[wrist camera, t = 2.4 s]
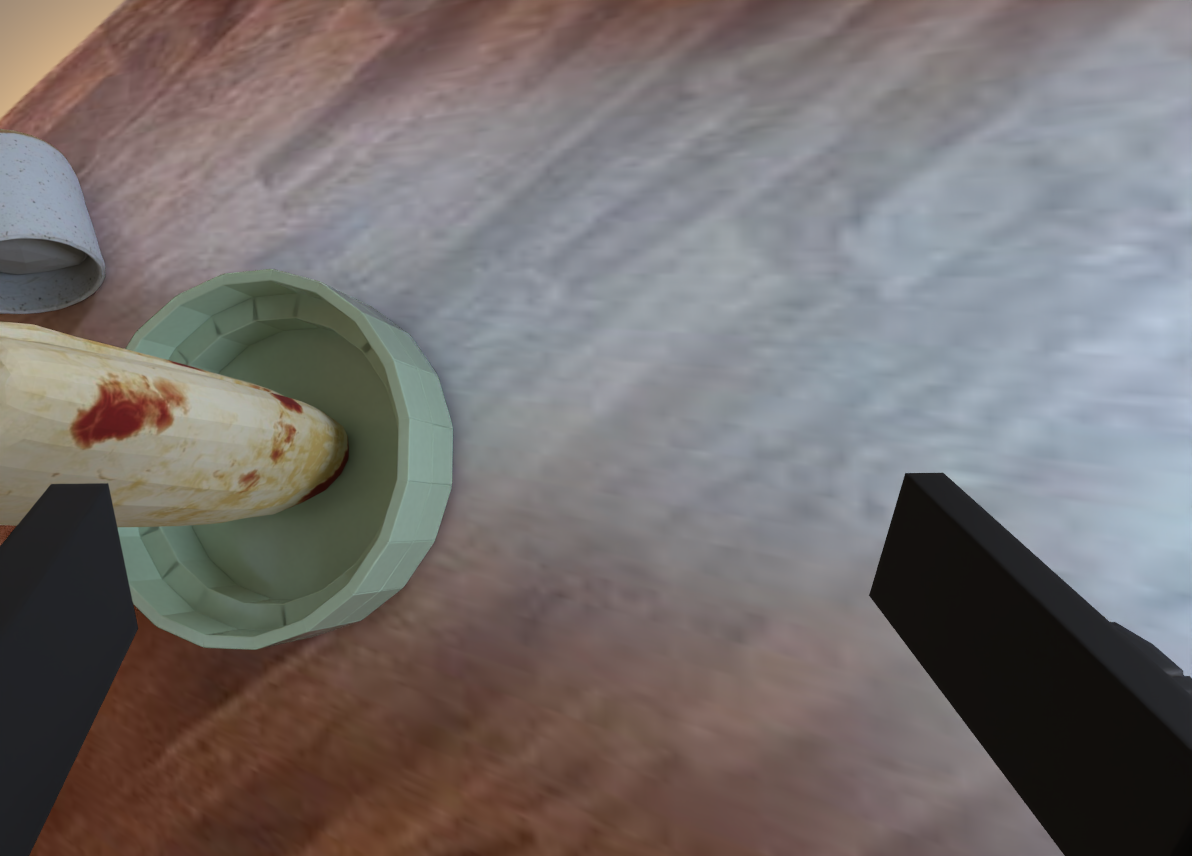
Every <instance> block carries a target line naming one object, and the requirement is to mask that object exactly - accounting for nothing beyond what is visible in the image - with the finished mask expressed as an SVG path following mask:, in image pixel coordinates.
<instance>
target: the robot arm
mask: <svg viewBox="0 0 1192 856" xmlns="http://www.w3.org/2000/svg"><path fill="white" fill-rule="evenodd" d="M869 596H870V597H871V599H872V600H873V601H874V603H875V604H876V605H877V606H878V608H879V609H880V610H881V612H882V613H883V614H884V616H885V617H886V618H887V620H888V621H889V622H890V624H891V625H892V626H893V628H894V629H895V630H896V632H897V633H898V634H899V636H900V637H901V638H902V640H903V641H904V642H905V644H906V645H907V646H908V648H909V649H910V650H911V652H912V653H913V654H914V656H915V657H916V658H917V660H918V661H919V662H920V664H921V665H922V666H923V668H924V669H925V670H926V672H927V673H928V674H929V676H930V677H931V678H932V680H933V681H934V682H935V684H936V685H937V686H938V688H939V689H940V690H941V692H942V693H943V694H944V696H945V697H946V698H947V700H948V701H949V702H950V704H951V705H952V706H953V708H954V709H955V710H956V712H957V713H958V714H959V716H960V717H961V718H962V720H963V721H964V722H965V724H966V725H967V726H968V728H969V729H970V730H971V732H972V733H973V734H974V735H975V737H976V738H977V739H978V741H979V742H980V743H981V745H982V746H983V747H984V749H985V750H986V751H987V753H988V754H989V755H990V757H991V758H992V759H993V761H994V762H995V763H996V765H997V766H998V767H999V769H1000V770H1001V771H1002V773H1003V774H1004V775H1005V777H1006V778H1007V779H1008V781H1009V782H1010V783H1011V785H1012V786H1013V787H1014V789H1015V790H1016V791H1017V793H1018V794H1019V795H1020V797H1021V798H1022V799H1023V801H1024V802H1025V803H1026V805H1027V806H1028V807H1029V809H1030V810H1031V811H1032V813H1033V814H1034V815H1035V817H1036V818H1037V819H1038V821H1039V822H1040V823H1041V825H1042V826H1043V827H1044V829H1045V830H1046V831H1047V833H1048V834H1049V835H1050V837H1051V838H1052V839H1053V841H1054V842H1055V843H1056V845H1057V846H1058V847H1059V849H1060V850H1061V851H1062V853H1063V854H1064V855H1065V856H1192V678H1191V677H1190V676H1184V675H1183V670H1182V669H1180V668H1179V667H1178V666H1177V665H1176V664H1175V663H1174V662H1172V661H1171V660H1170V659H1169V658H1168V657H1167V656H1166V655H1164V654H1163V653H1162V652H1161V651H1160V650H1159V649H1158V648H1156V647H1155V646H1154V645H1153V644H1151V643H1150V642H1148V641H1146V640H1145V639H1143V638H1141V637H1139V636H1138V635H1136V634H1134V633H1133V632H1131V631H1129V630H1128V629H1126V628H1124V627H1123V626H1121V625H1119V624H1118V623H1116V622H1109V621H1108V620H1107V619H1106V618H1105V617H1103V616H1102V615H1101V614H1100V613H1099V612H1098V611H1097V610H1096V609H1094V608H1093V607H1092V606H1091V605H1090V604H1089V603H1088V602H1087V601H1086V600H1084V599H1083V598H1082V597H1081V596H1080V595H1079V594H1078V593H1077V592H1076V591H1074V590H1073V589H1072V588H1071V587H1070V586H1069V585H1068V584H1067V583H1065V582H1064V581H1063V580H1062V579H1061V578H1060V577H1059V576H1058V575H1057V574H1055V573H1054V572H1053V571H1052V570H1051V569H1050V568H1049V567H1048V566H1047V565H1045V564H1044V563H1043V562H1042V561H1041V560H1040V559H1039V558H1038V557H1036V556H1035V555H1034V554H1033V553H1032V552H1031V551H1030V550H1029V549H1028V548H1026V547H1025V546H1024V545H1023V544H1022V543H1021V542H1020V541H1019V540H1018V539H1016V538H1015V537H1014V536H1013V535H1012V534H1011V533H1010V532H1009V531H1007V530H1006V529H1005V528H1004V527H1003V526H1002V525H1001V524H1000V523H999V522H997V521H996V520H995V519H994V518H993V517H992V516H991V515H990V514H989V513H987V512H986V511H985V510H984V509H983V508H982V507H981V506H980V505H979V504H977V503H976V502H975V501H974V500H973V499H972V498H971V497H970V496H968V495H967V494H966V493H965V492H964V491H963V490H962V489H961V488H960V487H958V486H957V485H956V484H955V483H954V482H953V481H952V480H951V479H950V478H948V477H947V476H946V475H945V474H944V473H905V476H904V480H903V483H902V487H901V490H900V493H899V497H898V500H897V503H896V507H895V510H894V514H893V517H892V520H891V524H890V527H889V530H888V534H887V537H886V541H885V544H884V547H883V551H882V554H881V557H880V561H879V564H878V567H877V571H876V574H875V578H874V581H873V584H872V588H871V591H870V594H869ZM137 630H138V625H137V621H136V616H135V611H134V606H133V601H132V596H131V591H130V586H129V582H128V577H127V572H126V567H125V562H124V557H123V552H122V547H121V543H120V538H119V533H118V528H117V523H116V518H115V513H114V508H113V504H112V499H111V494H110V489H109V484H108V483H87V484H51V485H50V486H49V487H48V488H47V490H46V491H45V492H44V493H43V494H42V496H41V497H40V498H39V499H38V501H37V502H36V503H35V504H34V505H33V507H32V508H31V509H30V510H29V512H28V513H27V514H26V515H25V517H24V518H23V519H22V520H21V521H20V523H19V524H18V525H17V526H16V528H15V529H14V530H13V531H12V532H11V534H10V535H9V536H8V537H7V539H6V540H5V541H4V542H3V544H2V545H1V546H0V856H29V855H30V853H31V850H32V848H33V846H34V844H35V842H36V840H37V838H38V836H39V834H40V832H41V830H42V828H43V825H44V823H45V821H46V819H47V817H48V815H49V813H50V811H51V809H52V807H53V805H54V803H55V801H56V798H57V796H58V794H59V792H60V790H61V788H62V786H63V784H64V782H65V780H66V778H67V776H68V773H69V771H70V769H71V767H72V765H73V763H74V761H75V759H76V757H77V755H78V753H79V751H80V748H81V746H82V744H83V742H84V740H85V738H86V736H87V734H88V732H89V730H90V728H91V726H92V723H93V721H94V719H95V717H96V715H97V713H98V711H99V709H100V707H101V705H102V703H103V701H104V699H105V696H106V694H107V692H108V690H109V688H110V686H111V684H112V682H113V680H114V678H115V676H116V674H117V671H118V669H119V667H120V665H121V663H122V661H123V659H124V657H125V655H126V653H127V651H128V649H129V646H130V644H131V642H132V640H133V638H134V636H135V634H136V632H137Z"/></svg>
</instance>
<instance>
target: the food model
mask: <svg viewBox="0 0 1192 856" xmlns="http://www.w3.org/2000/svg"><path fill="white" fill-rule="evenodd" d="M348 459H349V443H348V436H347V434H346V432H345V430H344V428H343V426H342V425H341V424H339V423H338V422H337V421H336V420H334V419H333V418H331V417H330V416H328V415H327V414H325V413H324V412H322V411H321V410H319V409H317V408H315V407H313V406H311V405H309V404H307V403H305V402H302V401H298V400H295V399H292V398H288V397H285V396H283V395H281V394H279V393H277V392H275V391H273V390H271V389H268V388H265V387H262V386H259V385H256V384H253V383H249V382H246V381H242V380H238V379H235V378H231V377H227V376H223V375H220V374H216V373H212V372H209V371H205V370H202V369H198V368H195V367H192V366H188V365H185V364H181V363H177V362H173V361H170V360H166V359H162V358H158V357H154V356H150V355H146V354H143V353H139V352H135V351H131V350H127V349H123V348H119V347H115V346H111V345H107V344H103V343H99V342H95V341H91V340H87V339H83V338H79V337H75V336H71V335H68V334H64V333H61V332H58V331H54V330H51V329H47V328H44V327H41V326H37V325H33V324H22V323H12V322H1V321H0V525H14V526H17V525H18V524H19V523H20V521H21V520H22V519H23V518H24V517H25V515H26V514H27V513H28V512H29V510H30V509H31V508H32V507H33V505H34V504H35V503H36V502H37V501H38V499H39V498H40V497H41V496H42V494H43V493H44V492H45V491H46V490H47V488H48V487H49V486H50V485H51V484H87V483H108V484H109V489H110V494H111V499H112V504H113V508H114V513H115V518H116V523H117V527H161V526H188V525H203V524H215V523H223V522H228V521H233V520H238V519H244V518H251V517H259V516H266V515H274V514H276V513H279V512H281V511H283V510H286V509H288V508H290V507H293V506H295V505H298V504H300V503H302V502H305V501H306V500H308V499H310V498H312V497H314V496H316V495H318V494H320V493H321V492H323V491H325V490H326V489H327V488H328V487H329V486H330V485H331V484H332V483H333V482H334V481H335V480H336V479H337V478H338V477H339V476H340V475H341V473H342V471H343V469H344V467H345V465H346V463H347V461H348Z"/></svg>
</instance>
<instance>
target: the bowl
mask: <svg viewBox="0 0 1192 856" xmlns="http://www.w3.org/2000/svg"><path fill="white" fill-rule="evenodd" d="M125 349H127V350H131V351H135V352H139V353H143V354H146V355H150V356H154V357H158V358H162V359H166V360H170V361H173V362H177V363H181V364H185V365H188V366H192V367H195V368H198V369H202V370H205V371H209V372H212V373H216V374H220V375H223V376H227V377H231V378H235V379H238V380H242V381H246V382H249V383H253V384H256V385H259V386H262V387H265V388H268V389H271V390H273V391H275V392H277V393H279V394H281V395H283V396H285V397H288V398H292V399H295V400H298V401H302V402H305V403H307V404H309V405H311V406H313V407H315V408H317V409H319V410H321V411H322V412H324V413H325V414H327V415H328V416H330V417H331V418H333V419H334V420H336V421H337V422H338V423H339V424H341V425H342V426H343V428H344V430H345V432H346V434H347V436H348V443H349V459H348V461H347V463H346V465H345V467H344V469H343V471H342V473H341V475H340V476H339V477H338V478H337V479H336V480H335V481H334V482H333V483H332V484H331V485H330V486H329V487H328V488H327V489H326V490H325V491H323V492H321V493H320V494H318V495H316V496H314V497H312V498H310V499H308V500H306V501H305V502H302V503H300V504H298V505H295V506H293V507H290V508H288V509H286V510H283V511H281V512H279V513H276V514H274V515H266V516H259V517H251V518H244V519H238V520H233V521H228V522H223V523H215V524H203V525H188V526H161V527H117V528H118V533H119V538H120V543H121V547H122V552H123V557H124V562H125V567H126V572H127V577H128V582H129V586H130V591H131V596H132V601H133V604H134V605H135V606H136V607H137V608H138V609H139V610H140V611H141V612H142V613H143V614H144V615H145V616H146V617H147V618H148V619H149V620H150V621H151V622H152V623H153V624H154V625H155V626H157V627H158V628H161V629H163V630H165V631H167V632H170V633H172V634H174V635H176V636H179V637H181V638H183V639H185V640H188V641H190V642H192V643H194V644H196V645H199V646H201V647H204V648H223V649H247V650H257V649H261V648H266V647H270V646H275V645H279V644H284V643H288V642H293V641H297V640H302V639H306V638H311V637H315V636H318V635H321V634H324V633H327V632H330V631H333V630H335V629H338V628H341V627H344V626H347V625H350V624H353V623H356V622H359V621H361V620H363V619H364V618H365V617H367V616H368V615H369V614H370V613H372V612H373V611H374V610H376V609H377V608H378V607H379V606H381V605H382V604H383V603H384V602H386V601H387V600H388V599H390V598H391V597H392V596H393V595H395V594H396V593H397V592H398V591H400V590H401V589H402V588H403V587H404V586H405V585H406V583H407V582H408V580H409V579H410V577H411V576H412V574H413V573H414V571H415V570H416V568H417V567H418V565H419V564H420V563H421V561H422V560H423V558H424V557H425V555H426V554H427V552H428V551H429V549H430V548H431V546H432V545H433V543H434V542H435V539H436V536H437V533H438V530H439V527H440V523H441V520H442V517H443V514H444V511H445V507H446V504H447V501H448V498H449V495H450V491H451V488H452V486H451V485H452V461H453V426H452V423H451V419H450V416H449V412H448V409H447V405H446V402H445V398H444V395H443V391H442V388H441V384H440V381H439V378H438V375H437V374H436V372H435V371H434V369H433V368H432V367H431V365H430V364H429V362H428V361H427V359H426V358H425V356H424V355H423V353H422V352H421V350H420V349H419V347H418V346H417V345H416V343H415V342H414V340H413V339H412V337H411V336H410V335H409V334H408V333H407V332H406V331H404V330H403V329H402V328H400V327H399V326H397V325H396V324H395V323H393V322H392V321H391V320H389V319H388V318H386V317H385V316H384V315H382V314H381V313H379V312H378V311H377V310H375V309H374V308H373V307H371V306H369V305H367V304H365V303H363V302H361V301H359V300H357V299H355V298H353V297H351V296H349V295H346V294H344V293H342V292H340V291H338V290H336V289H334V288H332V287H330V286H328V285H326V284H324V283H322V282H320V281H316V280H312V279H309V278H305V277H301V276H297V275H294V274H290V273H286V272H283V271H279V270H275V269H266V270H256V271H246V272H237V273H227V274H223V275H219V276H217V277H215V278H213V279H211V280H209V281H207V282H204V283H202V284H200V285H198V286H196V287H194V288H191V289H189V290H187V291H185V292H183V293H181V294H179V295H177V296H175V297H174V298H173V299H172V300H171V301H170V302H168V303H167V304H166V305H165V306H164V307H163V308H162V309H161V310H160V311H158V312H157V313H156V314H155V315H154V316H153V317H152V318H151V319H150V320H149V321H147V322H146V323H145V324H144V325H143V326H142V327H141V328H140V329H139V330H137V332H136V333H135V334H134V336H133V337H132V339H131V341H130V342H129V344H128V345H127V347H126V348H125Z"/></svg>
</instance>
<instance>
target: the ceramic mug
mask: <svg viewBox="0 0 1192 856" xmlns="http://www.w3.org/2000/svg"><path fill="white" fill-rule="evenodd" d="M105 275H106V274H105V264H104V260H103V257H102V255H101V252H100V249H99V245H98V241H97V238H96V234H95V231H94V228H93V225H92V222H91V219H90V216H89V213H88V211H87V208H86V205H85V201H84V197H83V193H82V189H81V187H80V184H79V181H78V178H77V176H76V174H75V173H74V171H73V169H72V167H71V165H70V164H69V162H68V161H67V160H66V158H65V157H64V155H63V154H62V153H61V152H60V151H59V150H57V149H56V148H55V147H54V146H52V145H50V144H49V143H47V142H45V141H43V140H41V139H39V138H37V137H34V136H32V135H29V134H25V133H21V132H17V131H13V130H3V129H0V314H7V313H9V314H31V313H42V312H48V311H55V310H58V309H62V308H65V307H68V306H71V305H74V304H76V303H78V302H80V301H82V300H84V299H86V298H88V297H89V296H91V295H92V294H93V293H94V292H96V291H97V290H98V289H99V288H100V286H101V285H102V283H103V281H104V278H105Z"/></svg>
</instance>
